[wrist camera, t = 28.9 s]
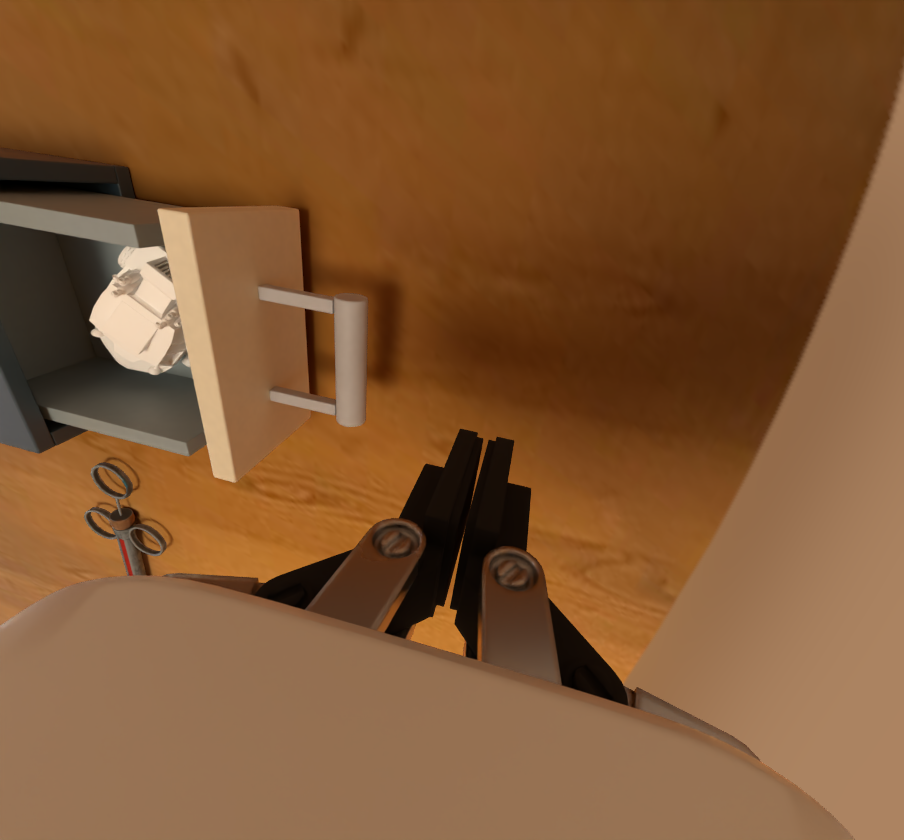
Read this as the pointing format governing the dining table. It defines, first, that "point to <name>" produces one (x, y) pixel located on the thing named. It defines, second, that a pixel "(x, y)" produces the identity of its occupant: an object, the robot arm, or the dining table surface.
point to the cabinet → (3, 382)
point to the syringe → (123, 524)
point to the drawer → (202, 317)
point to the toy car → (141, 313)
